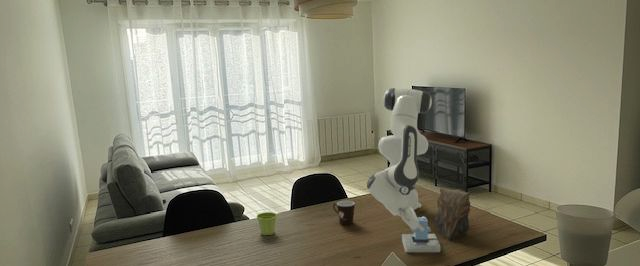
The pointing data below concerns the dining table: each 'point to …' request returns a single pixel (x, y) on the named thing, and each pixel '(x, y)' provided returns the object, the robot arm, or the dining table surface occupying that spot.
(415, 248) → the chassis
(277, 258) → the dining table surface
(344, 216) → the coffee mug
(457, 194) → the brown tall rough block
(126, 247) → the dining table surface
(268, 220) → the plant pot
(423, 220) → the servo
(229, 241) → the dining table surface
